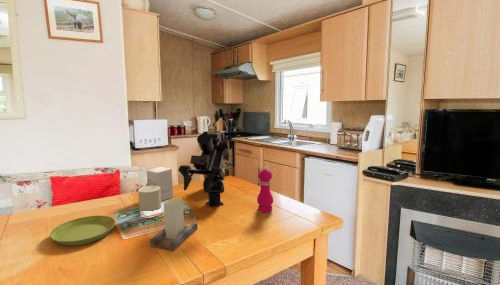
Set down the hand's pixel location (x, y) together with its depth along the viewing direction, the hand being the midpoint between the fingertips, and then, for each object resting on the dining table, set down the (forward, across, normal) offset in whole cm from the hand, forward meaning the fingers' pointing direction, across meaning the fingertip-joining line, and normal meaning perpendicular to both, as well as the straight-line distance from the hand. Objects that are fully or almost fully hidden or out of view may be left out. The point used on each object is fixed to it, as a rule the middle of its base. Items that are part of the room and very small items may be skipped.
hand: (195, 191), depth 108 cm
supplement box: (-5, -32, +25) cm, 41 cm away
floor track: (+18, -2, +1) cm, 18 cm away
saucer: (+24, -36, -4) cm, 43 cm away
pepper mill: (-5, +23, +25) cm, 34 cm away
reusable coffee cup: (-20, -12, +40) cm, 46 cm away
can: (+8, -24, +12) cm, 27 cm away
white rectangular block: (+18, -2, +1) cm, 18 cm away
